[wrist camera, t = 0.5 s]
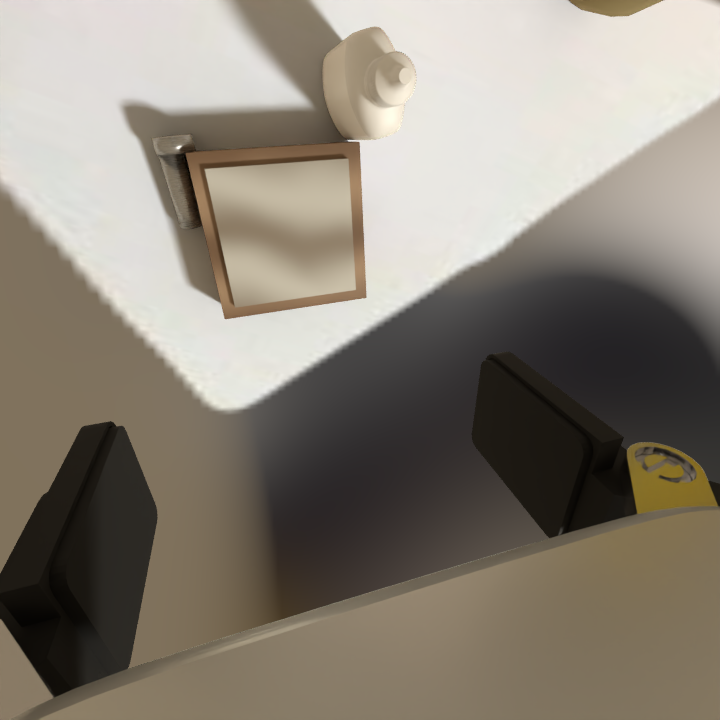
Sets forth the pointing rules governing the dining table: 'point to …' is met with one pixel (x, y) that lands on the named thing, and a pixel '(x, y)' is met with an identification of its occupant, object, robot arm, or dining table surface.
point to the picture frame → (282, 225)
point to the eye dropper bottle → (367, 85)
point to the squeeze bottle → (614, 6)
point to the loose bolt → (178, 176)
